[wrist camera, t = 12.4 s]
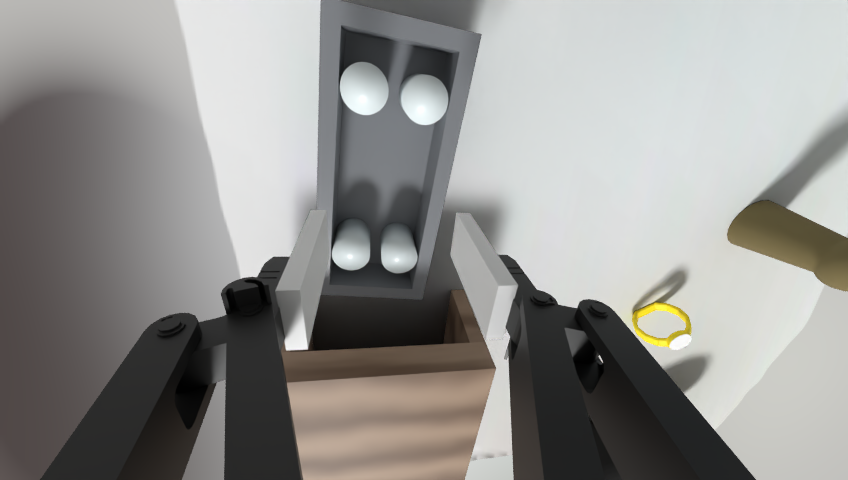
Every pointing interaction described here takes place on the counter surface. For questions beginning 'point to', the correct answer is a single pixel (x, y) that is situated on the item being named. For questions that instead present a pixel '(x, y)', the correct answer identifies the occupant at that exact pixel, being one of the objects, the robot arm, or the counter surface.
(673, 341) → the watch
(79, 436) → the robot arm
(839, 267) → the cork
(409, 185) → the tray
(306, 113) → the counter surface
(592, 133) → the counter surface
